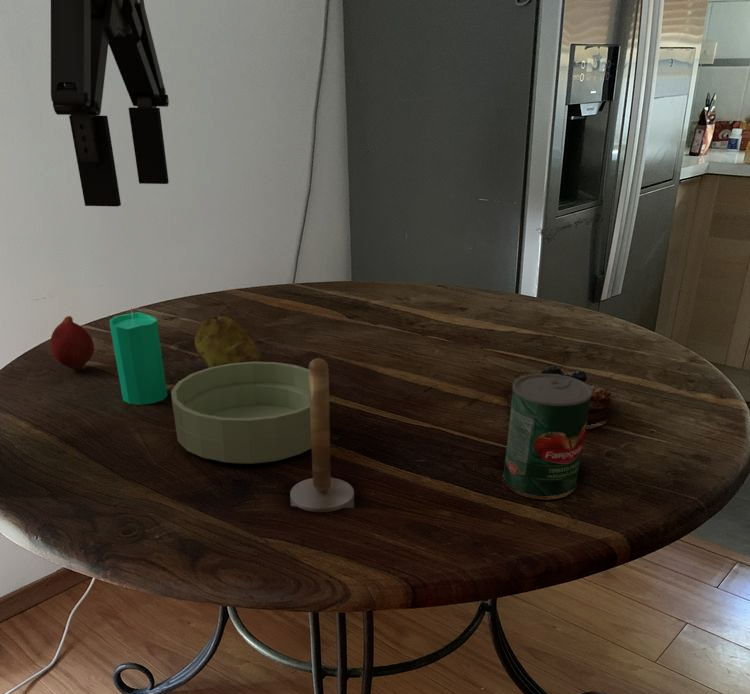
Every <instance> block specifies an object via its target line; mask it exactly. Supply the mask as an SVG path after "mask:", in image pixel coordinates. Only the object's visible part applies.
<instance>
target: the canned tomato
mask: <svg viewBox="0 0 750 694" xmlns="http://www.w3.org/2000/svg"><path fill="white" fill-rule="evenodd" d="M523 376H524V375H523ZM516 379H517V378H516ZM591 396H592V389H591V388H590V387H589V386H588V385H587V384H586V383H584V382H582V381H580V380H578V379H575V378H572V377H568V376H563V375H556V374H540V373H533V374H531V375H530V374H529V375H527V376H524V377H521V378H519V379H517V380H516V381H515V382H514V384H513V394H512V401H511V409H509V411H510V413H509V421H508V429H507V431H508V432H507V437H506V448H505V456H504V464H503V467H504V468H503V474H502V477H504V480H505V482H506V483H507V484H508V485H509V486H510V487H512V488H514V489H515V490H517V491H520V492H522V493H527V494H530V495H531V494H532V495H537V496H551V495H552V496H553V495H559V494H563V493H567V492H568V491H570V490H572V489H573V488H574V487H575V485H576V486H577V480H578V476H579V469H580V465H581V464H580V463H581V459H582V453H583V447H584V440H585V435H586V430H585V429H586V425H587V419H588V412H589V406H590V399H591Z"/></svg>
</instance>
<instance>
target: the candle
mask: <svg viewBox="0 0 750 694" xmlns="http://www.w3.org/2000/svg"><path fill="white" fill-rule="evenodd" d="M158 326H159V325H158V319H157V318H156V317H154V316H153V315H151V314H148V313H144V312H140V311H137V312H133V308H132V307H130V312H129V313H125V314H120V315H115V316H113V317H112V318H111V319H109V328H110V335H111V341H112V346H113V351H114V359H115V362H116V363H115V364H116V369H117V375H118V380H119V385H120V386H119V387H120V392H121V396H122V401H123V402H125V403H127V404H129V405H138V406H140V405H152V404H156V403H159V402H161V401H164V399H166V398H167V397H168V388H167V382H166V375H165V368H164V361H163V354H162V348H161V340H160V339H161V338H160V334H159V333H160V332H159V327H158Z"/></svg>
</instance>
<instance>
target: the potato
mask: <svg viewBox="0 0 750 694" xmlns="http://www.w3.org/2000/svg"><path fill="white" fill-rule="evenodd" d="M194 346H195V349H196V352H197V355H198V357H199V358H200V359H201V361H202V362H203V363H205V365H206V366H207V367H208V368H211V367H216V366H221V365H226V364H231V363H243V362H265V359H264V357H263V354H262V352H261V350H260V349H259V347H258V345H257V344H256V342H255V340H254V338H253V336H252V335H251V334H250V333H249V332H248V330H246V329H244V328H243V327H242V326H240V325H239V324H238V322H237V321H236V320H234V318H232V317H229V316H225V315H223V314H220V315H212V316H209V317H207V318H206V319H204V320H202V321H200V322H199V324H198V325H197V327H196V330H195V333H194Z"/></svg>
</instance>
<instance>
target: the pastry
mask: <svg viewBox="0 0 750 694" xmlns="http://www.w3.org/2000/svg"><path fill="white" fill-rule="evenodd" d="M539 374H556V375H563V376H568V377H572V378H575V379H578V380H580V381H582V382H584V383H586V384H587V385H588V386H589V387H590V388H591V389H592V396H591V399H590V406H589V412H588V419H587V425H591V424H596V423H598V422H601V421H605V420H607V419H609V420H610V417H609V415H610V414H611V412H609V410H611V409H612V399H611V394H612V393H611V392H610V391H607V390H606V388H603V387H600V386H599V385H597V386H596V385H595V384H592V382H591V381H587V379H588V377H587V373H586V372H585V371H583V370H576V371H566V370H565V369H561V368H560V367H559V366H558V365H553V366H552V365H551V366H550V367H549V368H547V369H543V370H542V371H541V372H540V373H539ZM527 375H532V373H530V374H529V373H525V374H524V375H521V374H520V375H518V376H517V377H516V378H515V379H513V380H512V382H511V385H510V387H511V391H510V392H509V393H508V395H507V405H508V404H509V405H510V406H511V401H512V394H513V384H514V382H515V381H516V380H517V379H519V378H521V377H524V376H527Z"/></svg>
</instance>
